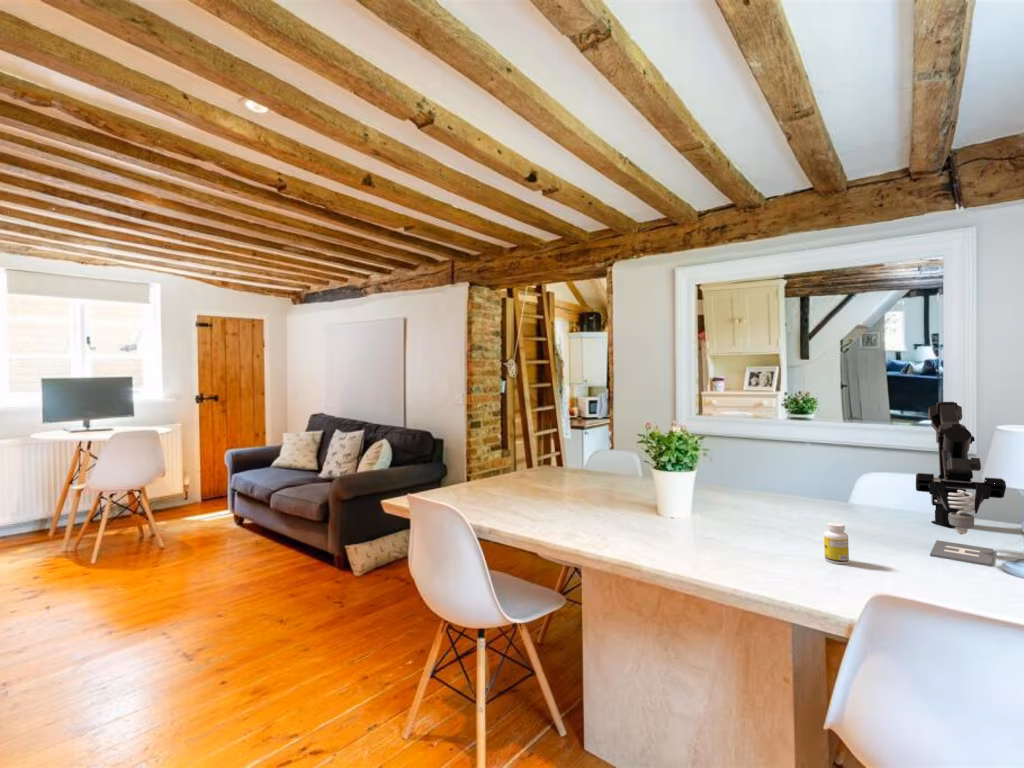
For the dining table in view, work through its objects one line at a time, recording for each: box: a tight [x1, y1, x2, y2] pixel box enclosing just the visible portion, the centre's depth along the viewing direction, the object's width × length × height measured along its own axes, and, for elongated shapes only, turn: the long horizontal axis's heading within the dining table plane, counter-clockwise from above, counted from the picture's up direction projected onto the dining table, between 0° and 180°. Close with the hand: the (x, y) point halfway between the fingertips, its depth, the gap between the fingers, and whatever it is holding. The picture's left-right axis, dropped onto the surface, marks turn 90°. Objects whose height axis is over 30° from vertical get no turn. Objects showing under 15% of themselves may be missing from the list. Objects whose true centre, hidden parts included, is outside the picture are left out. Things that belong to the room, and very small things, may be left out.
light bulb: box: [948, 490, 975, 535], centre depth 140 cm, size 6×6×12 cm
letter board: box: [929, 539, 994, 567], centre depth 140 cm, size 16×12×1 cm
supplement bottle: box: [823, 521, 850, 565], centre depth 136 cm, size 5×5×10 cm
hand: (961, 511), depth 139 cm, fingers closed on light bulb, 5 cm apart
